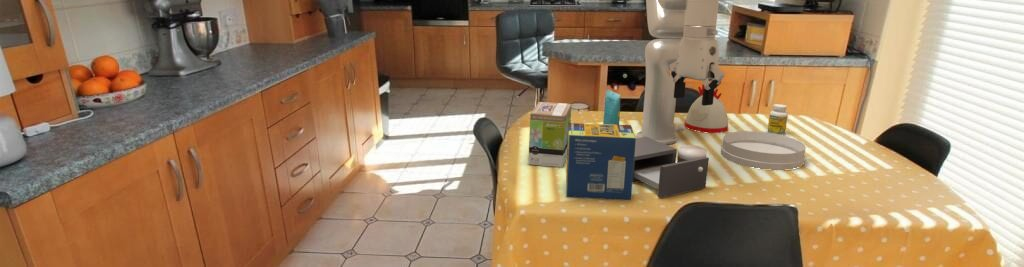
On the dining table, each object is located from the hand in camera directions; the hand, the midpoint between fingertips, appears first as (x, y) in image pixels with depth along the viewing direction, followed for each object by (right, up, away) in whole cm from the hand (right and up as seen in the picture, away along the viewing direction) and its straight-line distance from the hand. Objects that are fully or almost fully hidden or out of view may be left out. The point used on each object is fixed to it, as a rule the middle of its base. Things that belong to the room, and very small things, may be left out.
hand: (692, 101), depth 140 cm
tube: (-18, -15, +17) cm, 29 cm away
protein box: (-25, -22, -6) cm, 34 cm away
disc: (+1, -14, +4) cm, 15 cm away
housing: (-12, -18, +7) cm, 23 cm away
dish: (+26, -16, +19) cm, 36 cm away
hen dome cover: (+21, -6, +49) cm, 54 cm away
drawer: (-7, -21, -2) cm, 22 cm away
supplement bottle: (+41, -8, +43) cm, 60 cm away
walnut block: (+1, -19, +5) cm, 20 cm away
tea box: (-35, -15, +17) cm, 42 cm away
